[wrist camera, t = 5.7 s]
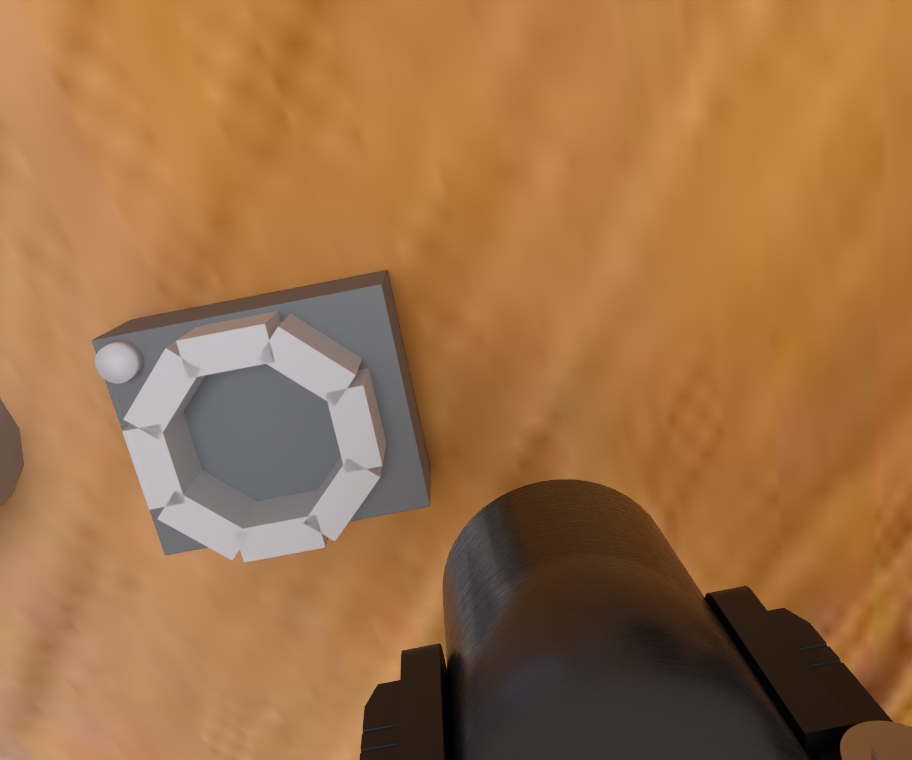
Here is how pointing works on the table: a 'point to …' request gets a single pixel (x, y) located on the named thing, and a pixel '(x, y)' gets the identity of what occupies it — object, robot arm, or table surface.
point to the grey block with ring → (269, 417)
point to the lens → (591, 640)
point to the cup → (9, 454)
